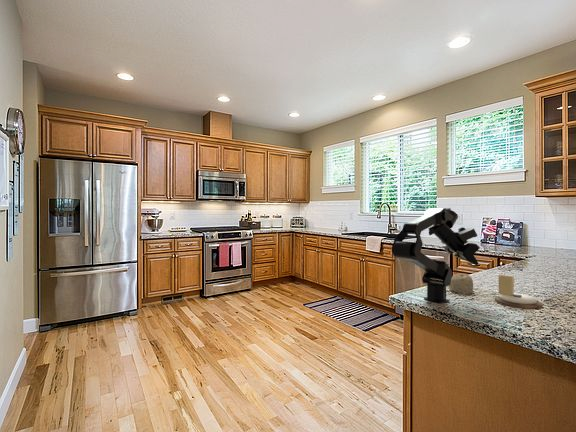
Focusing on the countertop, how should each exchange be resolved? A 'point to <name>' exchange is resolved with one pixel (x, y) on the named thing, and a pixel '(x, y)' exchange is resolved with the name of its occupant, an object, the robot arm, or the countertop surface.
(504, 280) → the dial
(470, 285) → the sponge
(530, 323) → the countertop surface
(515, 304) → the base
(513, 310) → the countertop surface
